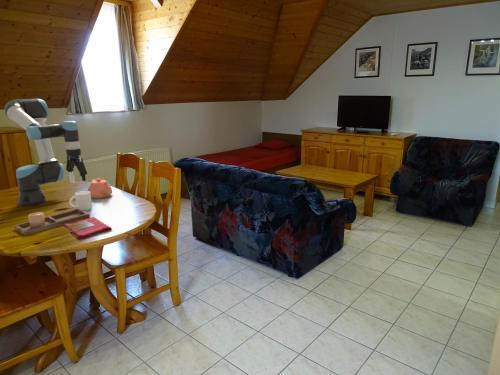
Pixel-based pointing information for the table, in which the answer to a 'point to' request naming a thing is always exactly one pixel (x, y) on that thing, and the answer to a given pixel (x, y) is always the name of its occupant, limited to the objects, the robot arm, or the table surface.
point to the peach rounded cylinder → (36, 220)
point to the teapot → (99, 189)
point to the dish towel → (89, 228)
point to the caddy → (54, 221)
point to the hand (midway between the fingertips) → (78, 184)
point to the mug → (82, 200)
